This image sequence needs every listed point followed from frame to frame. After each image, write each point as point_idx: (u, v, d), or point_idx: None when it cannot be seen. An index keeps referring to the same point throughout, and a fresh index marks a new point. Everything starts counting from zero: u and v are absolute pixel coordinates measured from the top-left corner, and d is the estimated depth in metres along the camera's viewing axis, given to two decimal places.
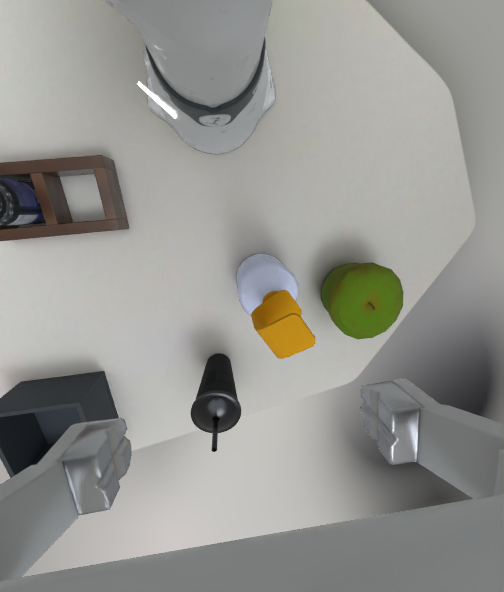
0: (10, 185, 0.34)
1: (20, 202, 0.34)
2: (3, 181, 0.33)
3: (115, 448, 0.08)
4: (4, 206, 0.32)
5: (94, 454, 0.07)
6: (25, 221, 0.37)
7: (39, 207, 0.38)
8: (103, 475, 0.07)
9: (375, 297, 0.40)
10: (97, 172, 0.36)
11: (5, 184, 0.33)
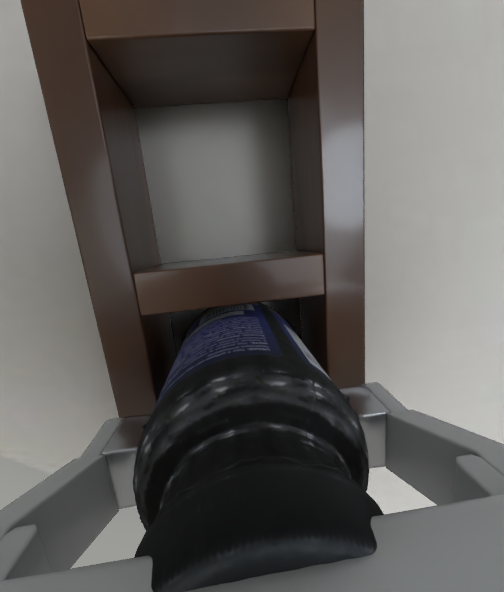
0: (178, 373, 0.07)
1: (254, 348, 0.07)
2: (161, 398, 0.07)
3: None
4: (289, 413, 0.05)
5: (135, 448, 0.07)
6: None
7: (258, 314, 0.11)
8: None
9: None
10: (102, 22, 0.08)
11: (171, 389, 0.06)
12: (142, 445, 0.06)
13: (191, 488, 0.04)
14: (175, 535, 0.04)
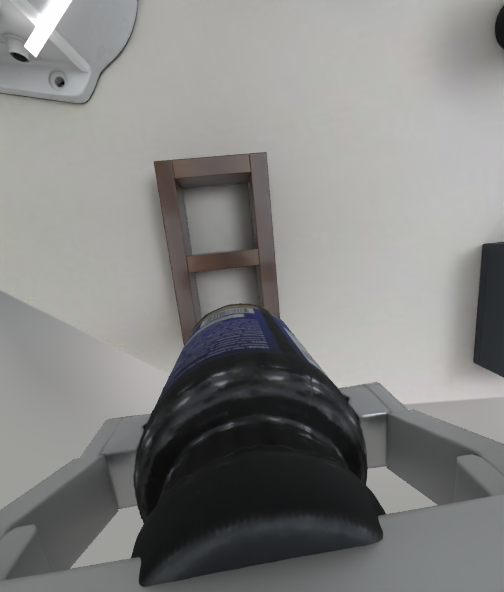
0: (180, 371, 0.07)
1: (254, 346, 0.07)
2: (163, 395, 0.07)
3: None
4: (287, 407, 0.06)
5: (135, 448, 0.07)
6: None
7: (258, 317, 0.11)
8: None
9: None
10: (180, 173, 0.23)
11: (173, 386, 0.07)
12: (143, 439, 0.06)
13: (191, 475, 0.04)
14: (175, 517, 0.04)
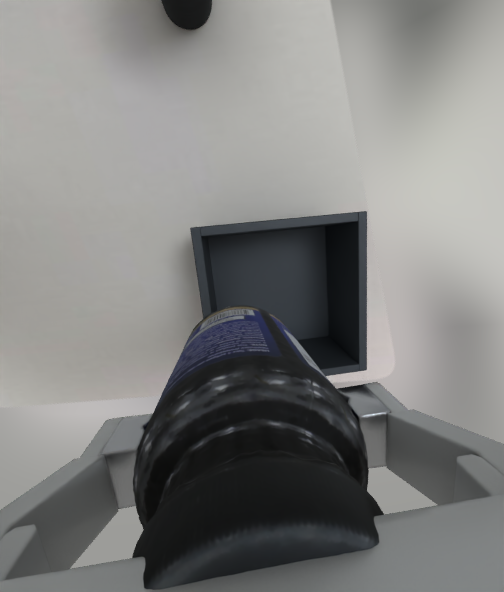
0: (179, 374, 0.07)
1: (254, 349, 0.07)
2: (162, 399, 0.07)
3: None
4: (287, 411, 0.06)
5: (135, 448, 0.07)
6: None
7: (259, 319, 0.11)
8: None
9: None
10: None
11: (173, 389, 0.07)
12: (143, 444, 0.06)
13: (191, 481, 0.04)
14: (174, 524, 0.04)
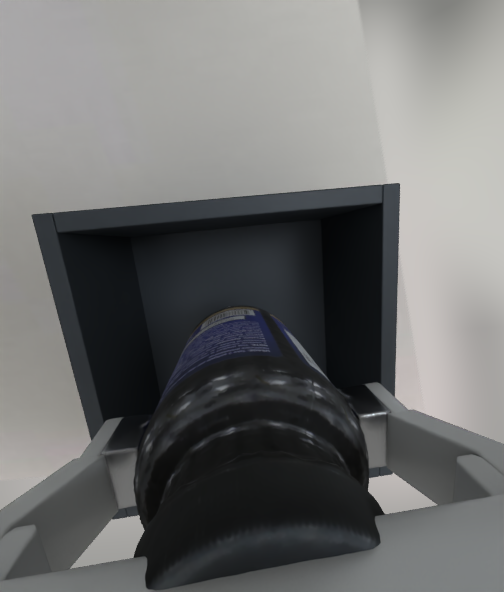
0: (180, 375, 0.07)
1: (255, 349, 0.07)
2: (163, 399, 0.07)
3: None
4: (288, 411, 0.06)
5: (135, 448, 0.07)
6: None
7: (259, 319, 0.11)
8: None
9: None
10: None
11: (173, 389, 0.07)
12: (144, 444, 0.06)
13: (191, 481, 0.04)
14: (176, 525, 0.04)
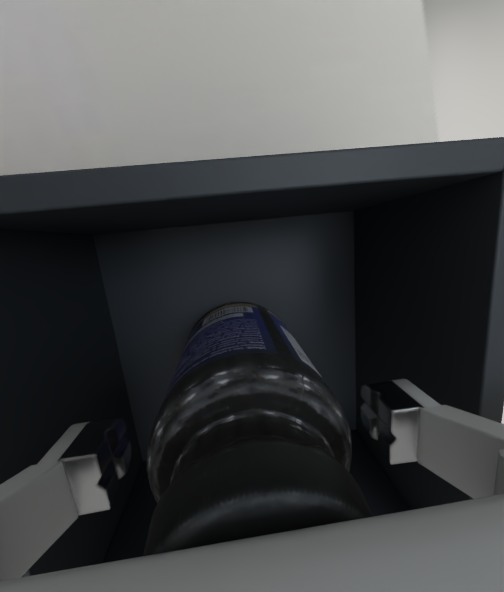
0: (185, 369, 0.08)
1: (252, 346, 0.08)
2: (170, 390, 0.08)
3: (115, 448, 0.08)
4: (281, 402, 0.06)
5: (94, 454, 0.07)
6: None
7: (257, 316, 0.12)
8: (103, 475, 0.07)
9: None
10: None
11: (180, 383, 0.07)
12: (155, 430, 0.07)
13: (198, 460, 0.05)
14: (187, 493, 0.05)
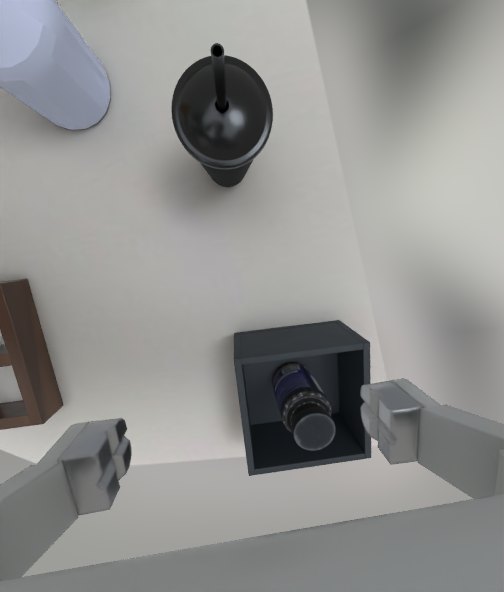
0: (287, 391, 0.31)
1: (305, 385, 0.31)
2: (285, 397, 0.31)
3: (115, 448, 0.08)
4: (314, 400, 0.29)
5: (94, 454, 0.07)
6: (319, 386, 0.33)
7: (302, 371, 0.35)
8: (103, 475, 0.07)
9: None
10: None
11: (289, 395, 0.30)
12: (285, 406, 0.30)
13: (300, 410, 0.28)
14: (301, 414, 0.28)
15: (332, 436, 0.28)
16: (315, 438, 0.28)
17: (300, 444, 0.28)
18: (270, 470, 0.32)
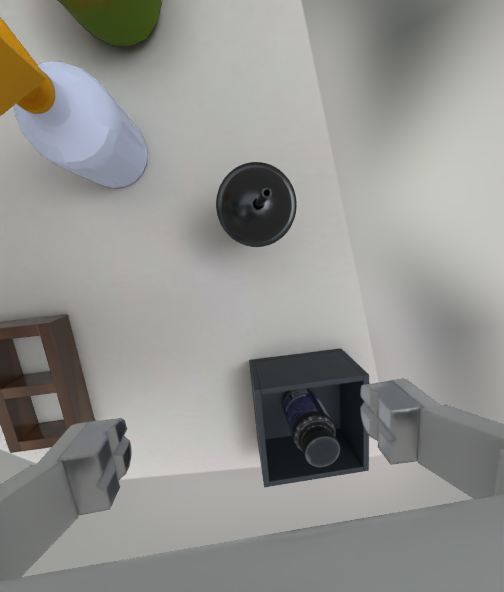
0: (298, 415, 0.36)
1: (314, 410, 0.36)
2: (296, 420, 0.36)
3: (115, 448, 0.08)
4: (322, 423, 0.35)
5: (94, 454, 0.07)
6: (324, 408, 0.39)
7: (309, 395, 0.40)
8: (103, 475, 0.07)
9: None
10: None
11: (300, 418, 0.36)
12: (296, 428, 0.35)
13: (310, 433, 0.33)
14: (311, 437, 0.33)
15: (337, 455, 0.33)
16: (323, 457, 0.33)
17: (310, 462, 0.33)
18: (282, 482, 0.37)
